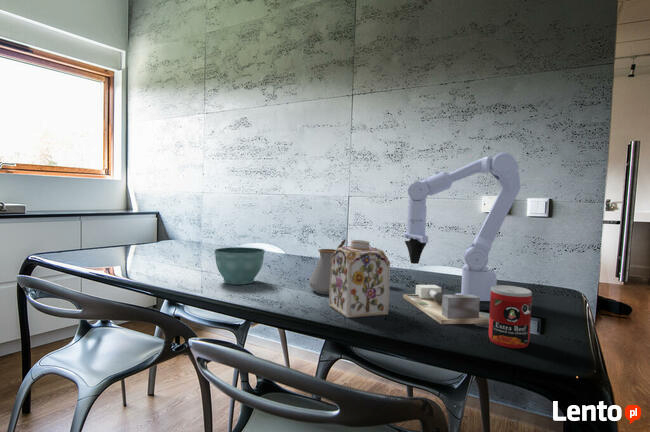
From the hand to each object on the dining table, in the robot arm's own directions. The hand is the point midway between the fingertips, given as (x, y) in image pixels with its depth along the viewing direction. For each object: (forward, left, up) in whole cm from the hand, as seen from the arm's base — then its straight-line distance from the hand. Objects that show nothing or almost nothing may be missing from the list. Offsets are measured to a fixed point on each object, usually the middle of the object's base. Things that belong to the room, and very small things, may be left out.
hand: (414, 263), depth 123 cm
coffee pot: (+25, -5, -10) cm, 27 cm away
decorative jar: (+23, +20, -10) cm, 32 cm away
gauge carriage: (+2, +14, -8) cm, 16 cm away
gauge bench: (0, +19, -9) cm, 22 cm away
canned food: (-3, +44, -9) cm, 45 cm away
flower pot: (+55, -14, -10) cm, 58 cm away
